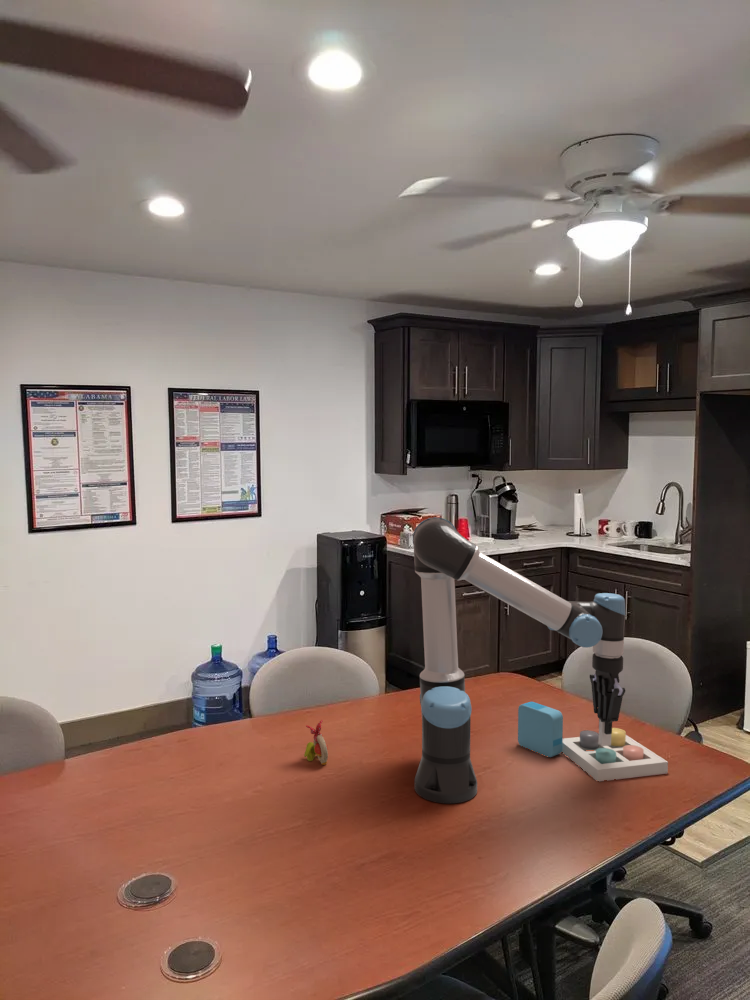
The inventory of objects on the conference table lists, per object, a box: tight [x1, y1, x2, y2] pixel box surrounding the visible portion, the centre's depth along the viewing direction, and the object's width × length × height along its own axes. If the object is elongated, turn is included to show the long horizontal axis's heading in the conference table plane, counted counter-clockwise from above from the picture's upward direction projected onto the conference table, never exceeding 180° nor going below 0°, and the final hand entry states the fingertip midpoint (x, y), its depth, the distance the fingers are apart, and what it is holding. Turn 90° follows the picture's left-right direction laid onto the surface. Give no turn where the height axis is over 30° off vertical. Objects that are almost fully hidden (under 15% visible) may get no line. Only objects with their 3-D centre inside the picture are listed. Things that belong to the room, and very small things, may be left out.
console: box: [562, 734, 669, 782], centre depth 188 cm, size 20×20×3 cm
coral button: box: [623, 745, 644, 761], centre depth 185 cm, size 5×5×3 cm
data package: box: [517, 701, 564, 758], centre depth 195 cm, size 12×4×12 cm, turn 38°
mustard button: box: [611, 727, 627, 746], centre depth 193 cm, size 5×5×3 cm
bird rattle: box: [303, 719, 329, 766], centre depth 187 cm, size 6×11×9 cm
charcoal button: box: [579, 729, 599, 749], centre depth 191 cm, size 5×5×3 cm
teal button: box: [596, 748, 616, 764], centre depth 183 cm, size 5×5×3 cm
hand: (604, 744), depth 183 cm, fingers closed
